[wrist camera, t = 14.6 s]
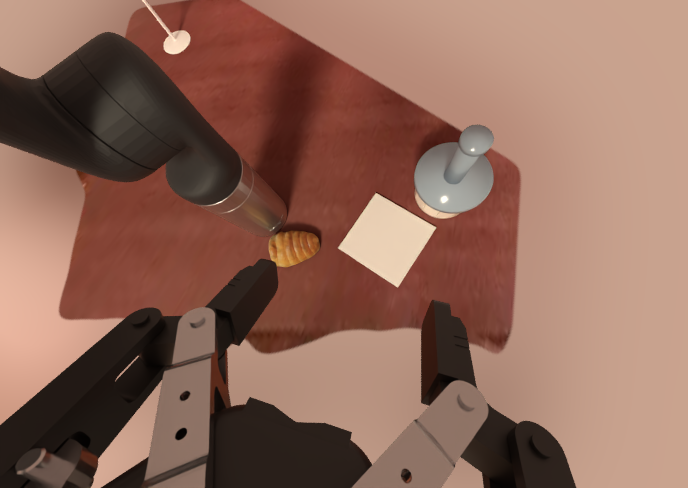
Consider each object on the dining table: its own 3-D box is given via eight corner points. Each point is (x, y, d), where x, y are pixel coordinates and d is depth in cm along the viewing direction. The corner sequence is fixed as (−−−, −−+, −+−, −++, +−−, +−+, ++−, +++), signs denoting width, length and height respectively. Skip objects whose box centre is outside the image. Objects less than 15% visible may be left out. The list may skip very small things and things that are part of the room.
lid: (400, 190, 41) (408, 154, 31) (437, 135, 43) (457, 82, 32) (466, 227, 39) (499, 201, 28) (503, 167, 40) (549, 121, 30)
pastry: (317, 227, 49) (313, 221, 45) (323, 260, 47) (319, 257, 43) (272, 237, 49) (264, 232, 46) (276, 270, 48) (268, 268, 44)
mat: (338, 248, 47) (338, 247, 46) (375, 193, 48) (375, 192, 48) (397, 287, 44) (397, 287, 44) (435, 228, 45) (436, 227, 45)
